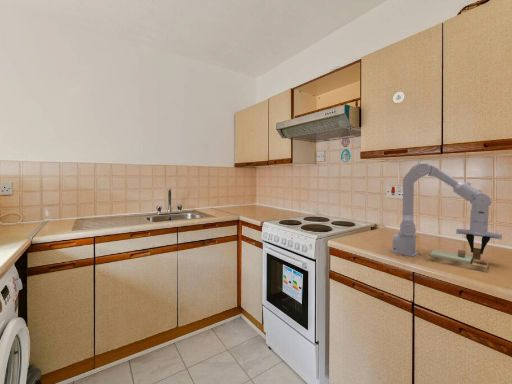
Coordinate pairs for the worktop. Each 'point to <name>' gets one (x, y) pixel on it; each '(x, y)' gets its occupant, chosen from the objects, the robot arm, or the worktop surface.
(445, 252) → the lid
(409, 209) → the robot arm
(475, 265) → the shallow wooden tray
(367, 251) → the worktop surface
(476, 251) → the dark brown rectangular block
